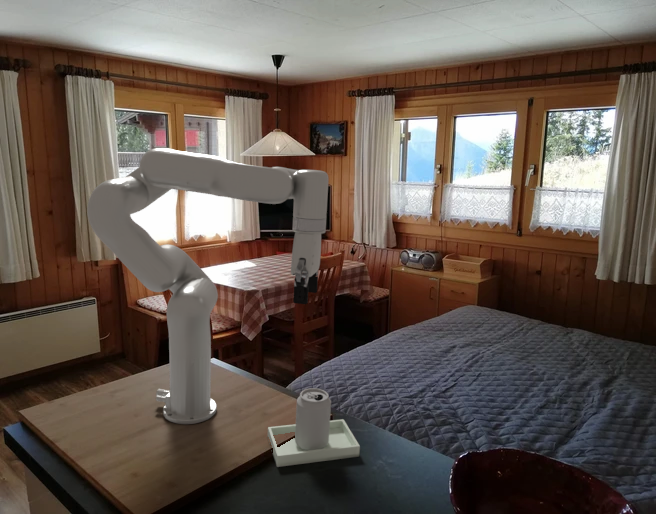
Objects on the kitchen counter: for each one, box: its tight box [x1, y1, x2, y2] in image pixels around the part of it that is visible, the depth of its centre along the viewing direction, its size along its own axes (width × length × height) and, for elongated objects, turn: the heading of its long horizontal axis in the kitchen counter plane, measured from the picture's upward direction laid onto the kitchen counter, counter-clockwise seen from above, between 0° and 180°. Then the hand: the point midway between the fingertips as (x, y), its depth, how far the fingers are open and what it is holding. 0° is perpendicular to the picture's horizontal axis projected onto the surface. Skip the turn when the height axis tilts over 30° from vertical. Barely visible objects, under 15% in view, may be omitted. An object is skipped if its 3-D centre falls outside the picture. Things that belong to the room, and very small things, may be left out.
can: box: [295, 387, 332, 451], centre depth 111 cm, size 8×8×12 cm
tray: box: [267, 418, 361, 468], centre depth 112 cm, size 18×11×2 cm, turn 107°
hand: (305, 297), depth 119 cm, fingers open, 9 cm apart
